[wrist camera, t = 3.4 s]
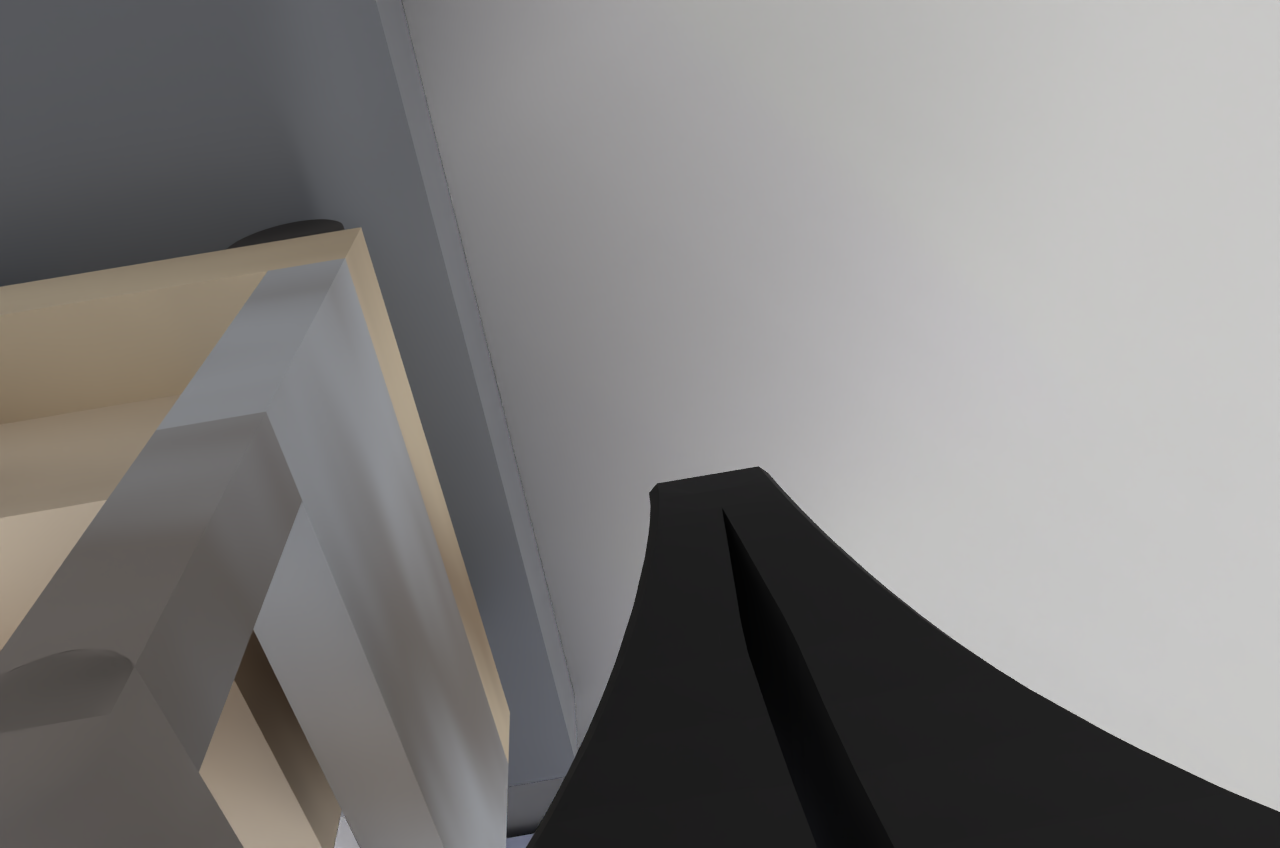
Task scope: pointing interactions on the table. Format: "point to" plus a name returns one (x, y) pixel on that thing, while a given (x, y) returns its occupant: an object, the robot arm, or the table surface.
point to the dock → (275, 195)
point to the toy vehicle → (232, 566)
